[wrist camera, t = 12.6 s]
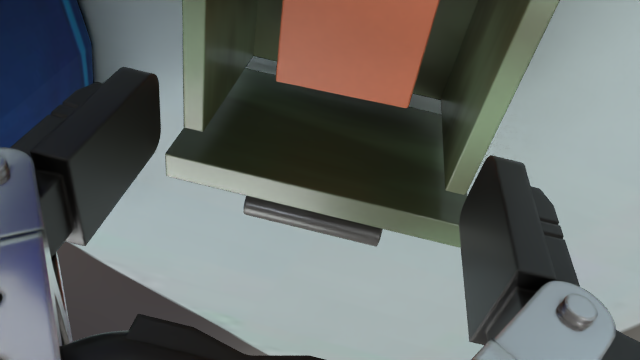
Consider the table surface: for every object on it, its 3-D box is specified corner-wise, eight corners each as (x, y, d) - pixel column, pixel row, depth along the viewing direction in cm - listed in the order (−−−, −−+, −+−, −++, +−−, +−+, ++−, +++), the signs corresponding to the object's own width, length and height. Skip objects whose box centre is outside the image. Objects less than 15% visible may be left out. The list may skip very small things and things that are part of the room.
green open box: (426, 197, 29) (427, 311, 22) (225, 148, 29) (168, 247, 23) (609, -239, 16) (728, -260, 10) (250, -317, 17) (140, -387, 10)
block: (301, 31, 23) (275, 82, 19) (315, -94, 19) (287, -64, 15) (410, 53, 22) (407, 109, 18) (444, -69, 19) (449, -33, 15)
